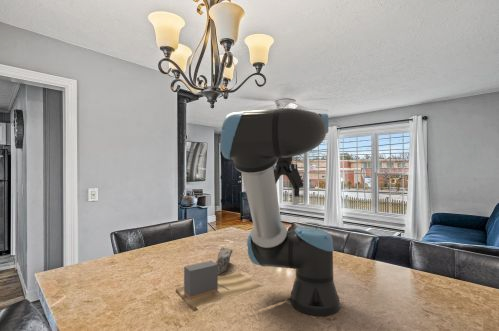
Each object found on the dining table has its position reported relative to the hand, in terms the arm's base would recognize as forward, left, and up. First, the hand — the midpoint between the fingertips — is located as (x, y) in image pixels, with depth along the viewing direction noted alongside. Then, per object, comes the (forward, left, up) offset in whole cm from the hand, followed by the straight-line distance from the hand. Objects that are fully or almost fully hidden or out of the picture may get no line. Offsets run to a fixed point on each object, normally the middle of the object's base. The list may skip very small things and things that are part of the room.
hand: (283, 203), depth 110 cm
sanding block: (+1, +37, -28) cm, 46 cm away
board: (+1, +30, -29) cm, 42 cm away
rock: (+17, +20, -29) cm, 39 cm away
